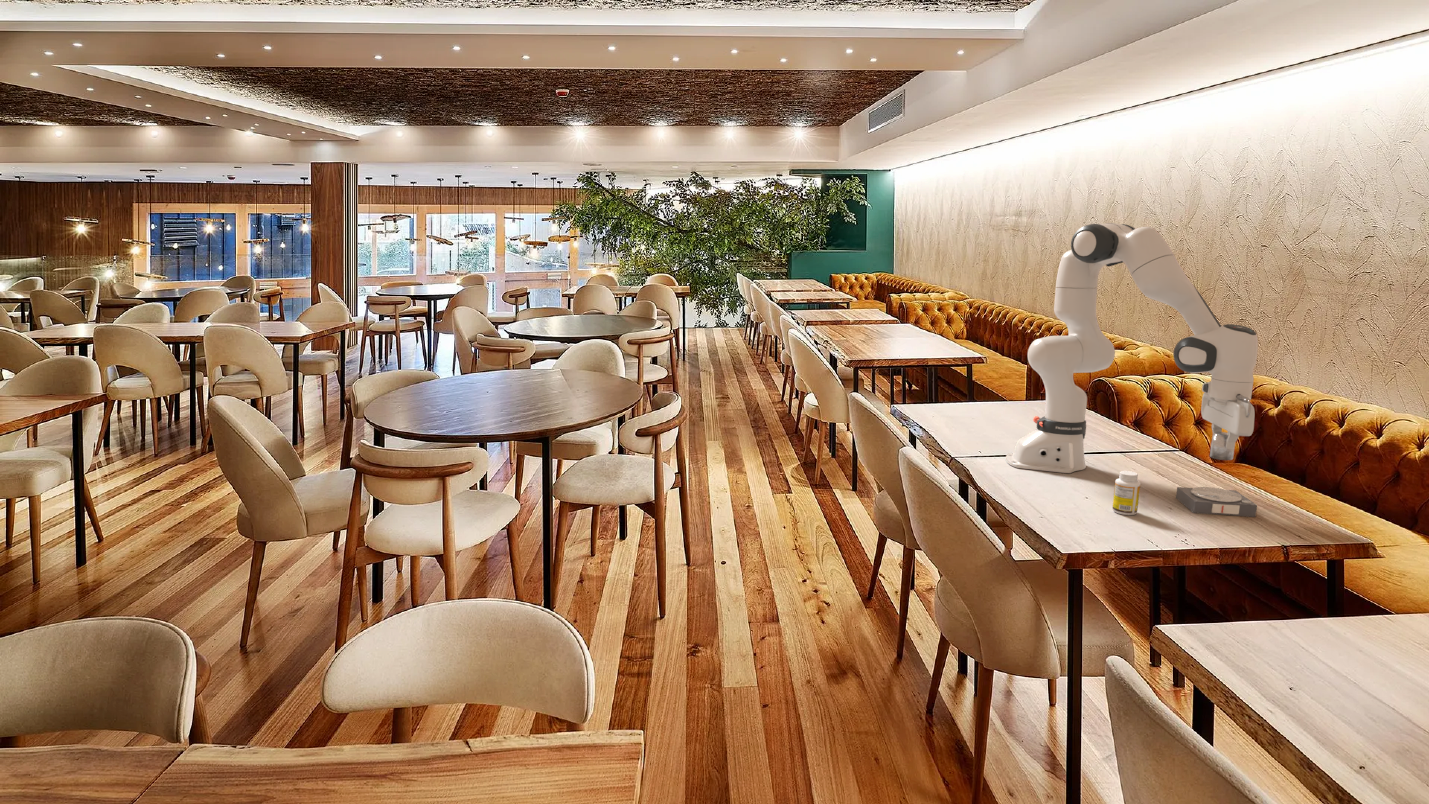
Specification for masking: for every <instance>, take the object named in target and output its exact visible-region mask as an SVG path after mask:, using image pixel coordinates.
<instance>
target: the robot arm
mask: <svg viewBox="0 0 1429 804" xmlns="http://www.w3.org/2000/svg"><path fill="white" fill-rule="evenodd" d="M1122 263H1124V265H1125V266H1126V268H1127V269H1128V272H1129V273H1130V276H1131V278H1132V280H1133V282H1134V284H1135V285H1136V287H1137V288H1138V290H1139V291H1140V292H1141V293H1142V295H1144V297H1147V298H1148V299H1150V300H1153V301H1157V302H1160V303H1161V304H1164V305H1168V306H1170V307H1171V308H1173V309H1174V310H1176V311H1177V312H1178V313H1179V314H1180V315H1181V316H1182V318H1183V319H1184V322H1185V323H1186V324H1187V325H1188V327H1189V329H1190V331H1192V333H1193V335H1191V336H1186V337H1183V338H1182V339H1180V340H1179V341H1178V342H1177V343H1176V345H1175V346H1174V349H1173V361H1174V364H1175V365H1176V366H1177V368H1179V370H1181V371H1183V372H1185V373H1190V374H1200V373H1209V374H1211V378H1210V379H1211V380H1210V381H1208V382H1204V383H1203V384H1202V386H1201V391H1202V392H1203V394H1202V397H1201V407H1200V409H1201V410H1200V413H1201V417H1202V419H1203V420H1205V421H1207V422H1209V423H1211V430H1212V431H1211V432H1212V433H1213V432H1223V430H1225V431H1226V433H1227V435H1228V438H1227V440H1226V441H1225V442H1224V447H1225V448H1227V449H1234V450H1235V448H1234V447H1236V442H1237V440H1238V439H1239V437H1250V436H1252V434H1254V433H1253V432H1254V429H1255V407H1254V406H1253V404H1252V403H1251V400H1252V395H1253V394H1252V392H1253V387H1254V380H1255V378H1254V369H1255V366H1256V365H1257V360H1258V347H1259V341H1258V339H1259V338H1258V334H1257V332H1256V331H1255V330H1253V329H1252V328H1250V327H1248V326H1244V325H1240V324H1232V323H1231V324H1230V323H1227V324H1223V325H1222V324H1221V323H1220V322H1219V320H1218V319H1217V317H1216V316H1215V314H1214V313H1213V311H1212V310H1211V308H1210V307H1209V305H1208V304H1207V302H1206V300H1205V299H1204V297H1203V295H1202V294H1201V293H1200V291H1199V290H1198V289H1197V288H1196V286H1195V285H1194V284H1193V283H1192V282H1191V280H1190V279H1189V278H1188V276H1187V275H1186V273H1185V271H1184V269H1183V268H1182V266H1181V265H1180V263H1179V261H1178V260H1177V257H1176V256H1175V254H1174V252H1173V250H1172V249H1171V247H1170V245H1169V243H1168V242H1167V240H1165V239H1164V237H1163V236H1162V235H1161V234H1160V232H1158V231H1157V230H1156V229H1155V228H1153V227H1151V226H1142V227H1137V228H1135V227H1134V226H1131V225H1129V224H1124V223H1122V224H1121V223H1116V222H1115V223H1114V222H1106V223H1091V224H1085V225H1083V226H1082V227H1080V228H1078V229H1077V230H1076V231H1075V233H1074V234H1073V235H1072V237H1071V241H1070V250H1067V251H1066V252H1064V253H1063V254H1062V256H1061V258H1060V261H1059V266H1058V269H1057V275H1056V281H1055V288H1054V289H1055V292H1054V303H1053V304H1054V306H1053V312H1054V315H1055V317H1056V318H1057V319H1058V320H1059V321H1061V322H1063V323H1064V324H1065V325H1066V328H1067V331H1068V332H1067V333H1068V335H1049V336H1045V337H1044V336H1043V337H1041V338H1037V339H1034V340H1033V341H1032V342H1031V344H1030V345H1029V347H1028V349H1027V361H1028V364H1029V365H1030V367H1031V369H1033V371H1035V372H1036V373H1037V374H1038V375H1039V376H1040V378H1041V380H1042V382H1043V385H1044V389H1045V410H1044V416H1042V417H1040V416H1038V415H1035V416H1034V417H1033V418H1032V420H1033V422H1034V423H1035V424H1036V428H1035V429H1034V430H1032V431H1030V432H1029V433H1027V434H1025V435H1024V436H1022V437H1020V438H1019V439H1018V440H1017V442H1016V444H1015V446H1014V451H1013V452H1011V453H1007V454H1006V455H1005V461H1006V463H1008V465H1010V466H1011V467H1013V468H1017V469H1026V470H1034V471H1043V472H1044V471H1045V472H1055V473H1063V474H1064V473H1065V474H1071V473H1073V472H1076V471H1083V470H1085V469H1086V468H1087V464H1086V459H1085V451H1084V449H1085V448H1084V441H1085V438H1086V437H1085V436H1086V434H1087V420H1086V412H1087V404H1088V403H1087V402H1088V396H1087V393H1086V391H1085V390H1083V388H1081V387H1079V386H1078V385H1076V384H1075V381H1074V374H1077V373H1078V374H1079V373H1080V374H1081V373H1083V374H1084V373H1087V374H1088V373H1095V372H1100V371H1103V370H1106V369H1109V368H1110V366H1111V365H1113V362H1114V359H1115V355H1116V350H1115V346H1114V344H1113V343H1112V341H1111V340H1110V339H1109V338H1108V337H1106V335H1105V333H1103V332H1102V330H1101V328H1100V325H1099V321H1098V318H1097V295H1098V283H1099V282H1098V281H1099V274H1100V272H1101V270H1102V268H1104V266H1106V267H1113V266H1115V265H1119V264H1122ZM1222 429H1223V430H1222Z"/></svg>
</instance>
